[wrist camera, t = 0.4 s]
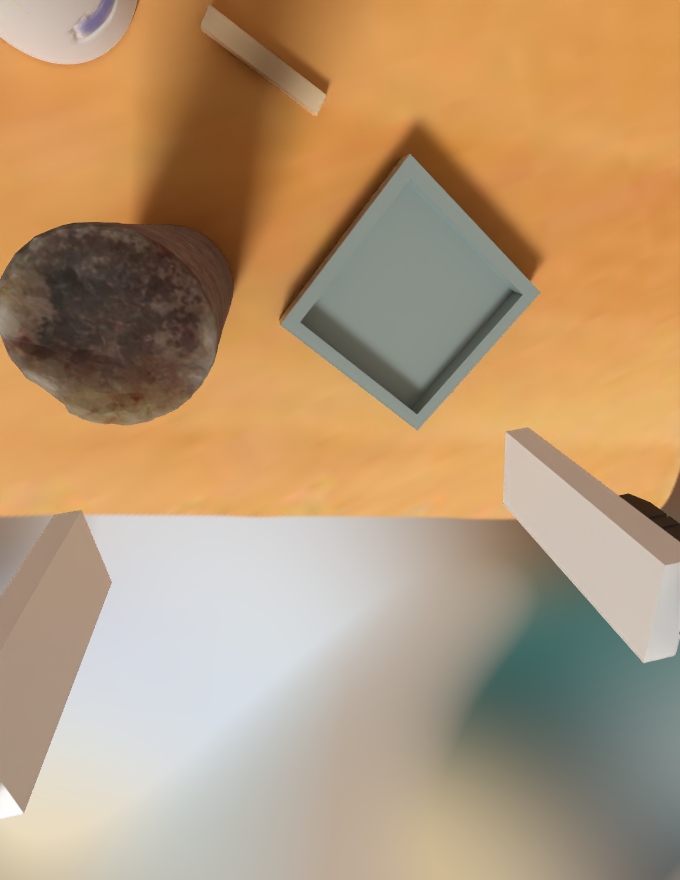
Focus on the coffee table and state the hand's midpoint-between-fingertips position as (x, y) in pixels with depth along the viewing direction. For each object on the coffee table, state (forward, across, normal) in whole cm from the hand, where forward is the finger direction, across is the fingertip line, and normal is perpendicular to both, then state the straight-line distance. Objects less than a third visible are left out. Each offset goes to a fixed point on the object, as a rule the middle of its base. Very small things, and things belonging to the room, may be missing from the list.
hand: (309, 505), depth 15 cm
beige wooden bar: (+25, +2, +17) cm, 30 cm away
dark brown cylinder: (+25, -6, +5) cm, 26 cm away
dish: (+24, +10, +1) cm, 27 cm away
